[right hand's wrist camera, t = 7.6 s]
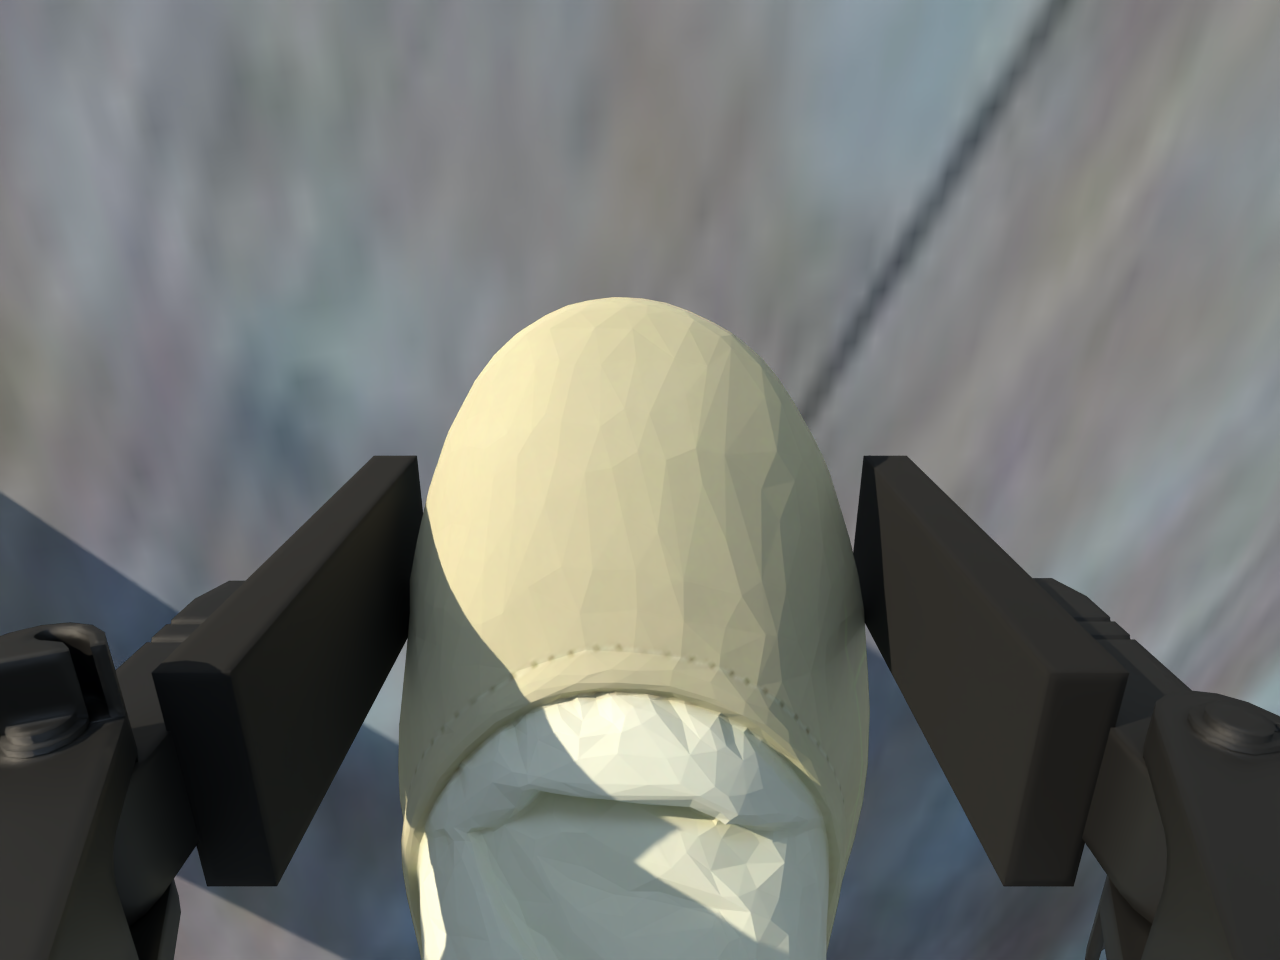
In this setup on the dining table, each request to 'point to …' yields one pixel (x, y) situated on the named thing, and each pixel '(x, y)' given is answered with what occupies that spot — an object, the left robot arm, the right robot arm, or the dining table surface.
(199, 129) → the dining table surface
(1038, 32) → the dining table surface
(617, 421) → the ballet flat
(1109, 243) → the dining table surface
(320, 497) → the dining table surface
